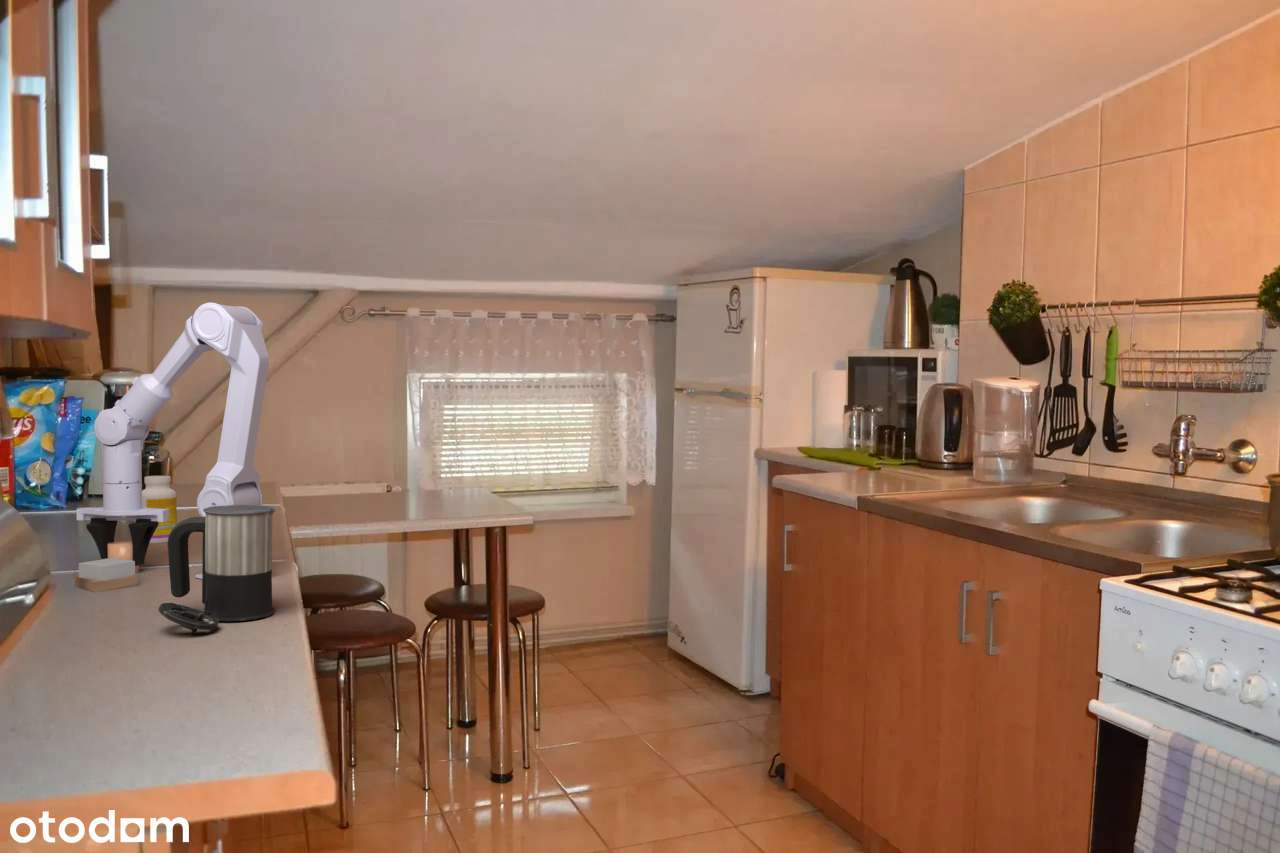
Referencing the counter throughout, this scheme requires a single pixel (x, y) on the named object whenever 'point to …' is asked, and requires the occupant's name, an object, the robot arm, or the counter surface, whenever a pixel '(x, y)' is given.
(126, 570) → the slab upper
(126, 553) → the terracotta cylinder
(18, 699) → the counter surface
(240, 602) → the milk frother
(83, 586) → the slab lower
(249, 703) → the counter surface
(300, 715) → the counter surface
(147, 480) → the supplement bottle
